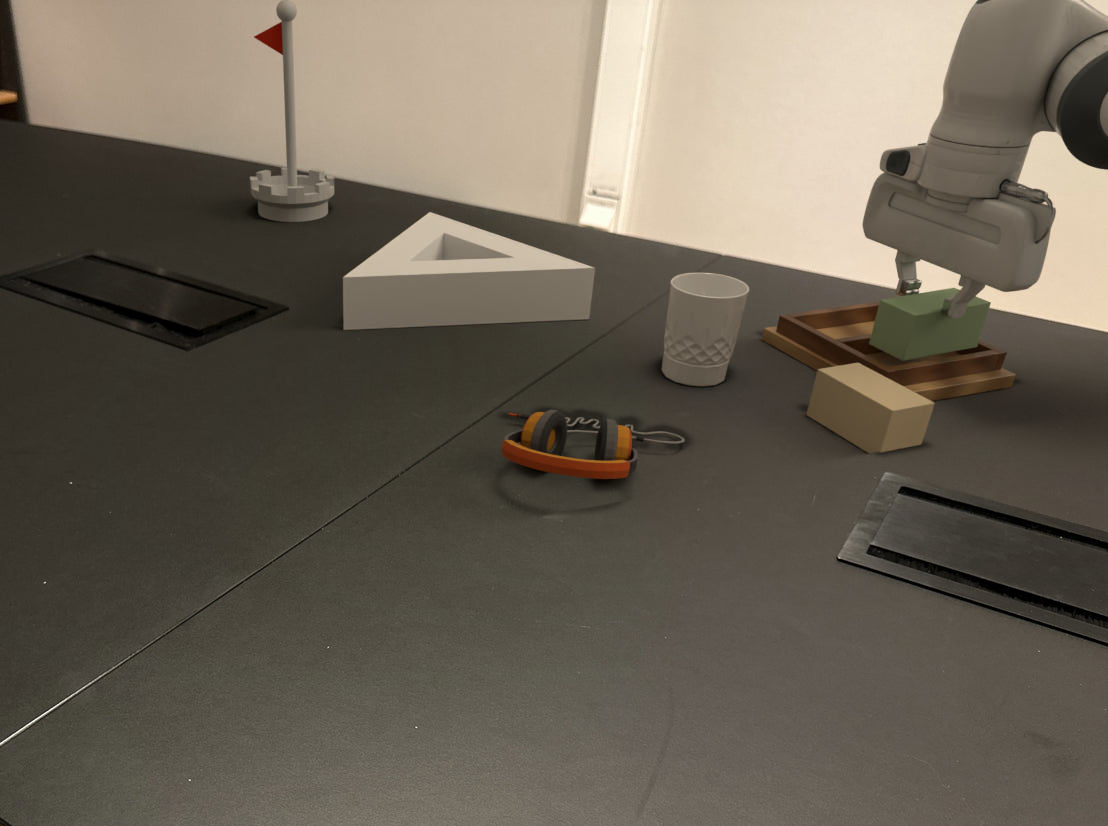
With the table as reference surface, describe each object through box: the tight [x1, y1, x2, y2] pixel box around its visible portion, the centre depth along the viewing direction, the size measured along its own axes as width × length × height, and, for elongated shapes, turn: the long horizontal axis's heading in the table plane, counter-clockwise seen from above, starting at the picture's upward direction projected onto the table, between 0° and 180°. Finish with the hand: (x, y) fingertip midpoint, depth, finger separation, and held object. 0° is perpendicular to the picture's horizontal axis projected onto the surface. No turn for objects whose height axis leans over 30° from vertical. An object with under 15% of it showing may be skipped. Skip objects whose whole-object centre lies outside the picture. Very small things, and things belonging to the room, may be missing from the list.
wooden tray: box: [761, 300, 1017, 402], centre depth 116 cm, size 17×20×4 cm
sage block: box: [869, 287, 991, 361], centre depth 111 cm, size 10×5×5 cm, turn 110°
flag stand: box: [249, 0, 335, 223], centre depth 157 cm, size 13×13×30 cm
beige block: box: [806, 363, 935, 454], centre depth 101 cm, size 10×5×5 cm, turn 21°
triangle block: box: [342, 211, 596, 331], centre depth 129 cm, size 30×26×6 cm
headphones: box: [501, 409, 685, 480], centre depth 95 cm, size 17×5×20 cm
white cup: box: [661, 272, 750, 387], centre depth 111 cm, size 8×8×10 cm
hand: (927, 305), depth 110 cm, fingers closed on sage block, 5 cm apart
